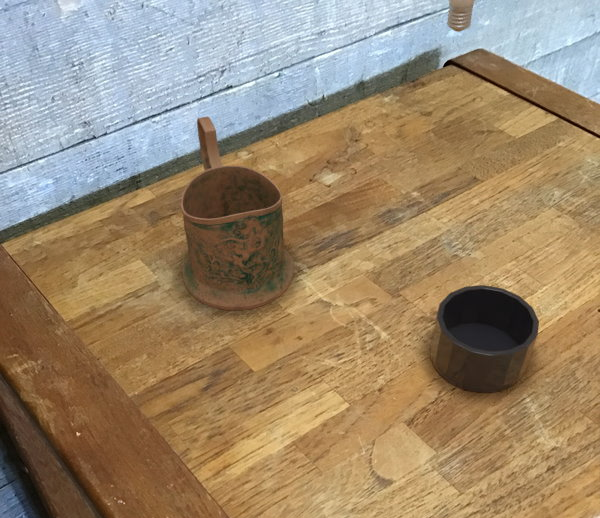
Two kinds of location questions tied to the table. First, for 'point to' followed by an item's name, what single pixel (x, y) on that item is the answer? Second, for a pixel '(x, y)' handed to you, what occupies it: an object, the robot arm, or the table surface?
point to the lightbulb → (460, 14)
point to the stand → (483, 338)
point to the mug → (233, 233)
